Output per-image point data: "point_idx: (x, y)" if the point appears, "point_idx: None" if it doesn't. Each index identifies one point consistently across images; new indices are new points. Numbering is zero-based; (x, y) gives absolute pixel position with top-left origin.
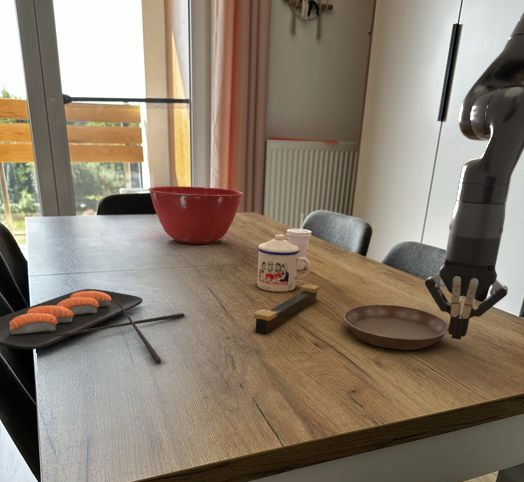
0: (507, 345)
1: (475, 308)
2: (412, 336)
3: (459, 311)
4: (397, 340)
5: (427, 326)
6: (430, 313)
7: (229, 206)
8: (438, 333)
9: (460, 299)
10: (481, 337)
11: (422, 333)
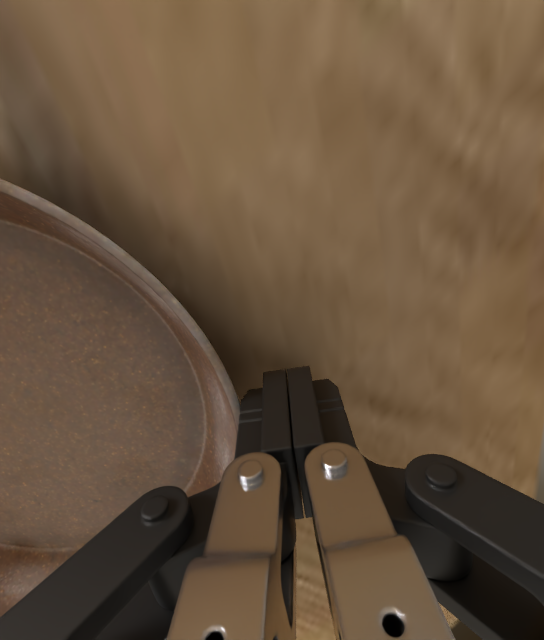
0: (522, 125)
1: (419, 561)
2: (100, 411)
3: (292, 528)
4: None
5: (76, 243)
6: (4, 189)
7: None
8: (182, 336)
9: (286, 634)
10: (372, 84)
11: (110, 345)
